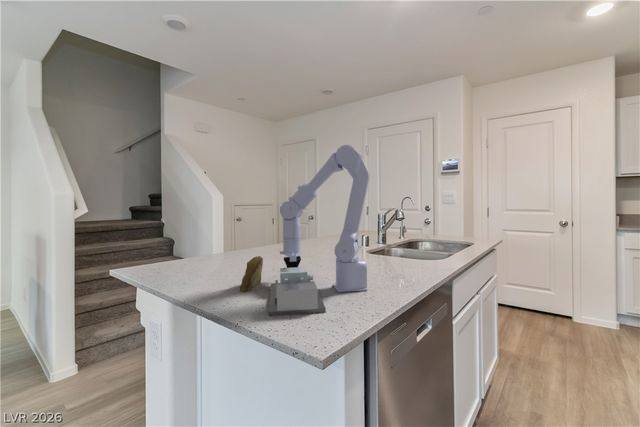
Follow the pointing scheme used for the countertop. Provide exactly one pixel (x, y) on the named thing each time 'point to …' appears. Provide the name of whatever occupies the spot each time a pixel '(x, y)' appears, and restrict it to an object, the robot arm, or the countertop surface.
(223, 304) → the countertop surface
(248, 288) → the rock
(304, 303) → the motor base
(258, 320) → the countertop surface
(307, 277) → the pale blue-grey box
